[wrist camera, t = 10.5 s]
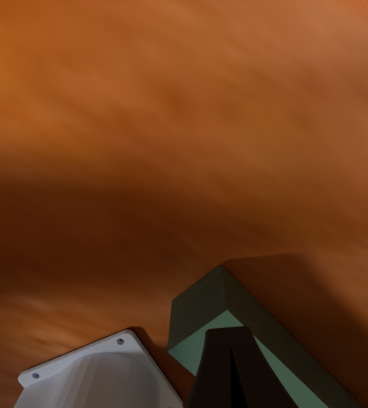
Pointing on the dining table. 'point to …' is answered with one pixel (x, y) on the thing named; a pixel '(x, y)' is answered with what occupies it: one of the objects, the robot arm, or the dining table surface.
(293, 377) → the dark green rectangular beam
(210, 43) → the dining table surface
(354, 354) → the dining table surface
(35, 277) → the dining table surface
